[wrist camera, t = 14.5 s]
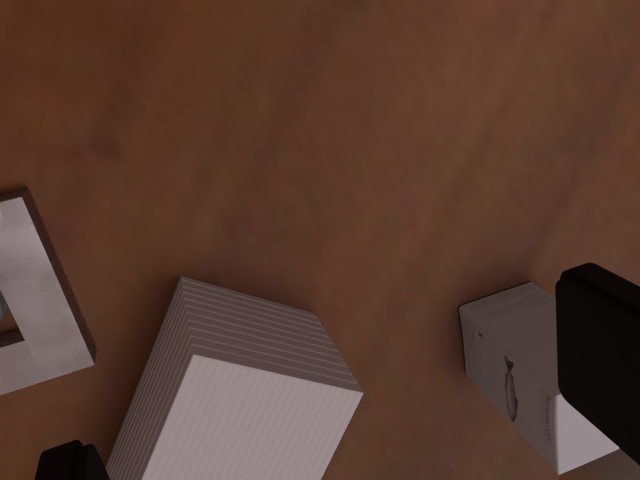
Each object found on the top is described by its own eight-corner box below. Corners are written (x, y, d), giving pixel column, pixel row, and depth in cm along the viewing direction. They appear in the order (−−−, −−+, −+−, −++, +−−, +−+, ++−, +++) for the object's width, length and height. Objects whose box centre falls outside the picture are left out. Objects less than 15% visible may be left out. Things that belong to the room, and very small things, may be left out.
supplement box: (455, 305, 47) (556, 393, 35) (532, 279, 48) (652, 356, 37) (462, 376, 49) (557, 478, 38) (534, 349, 51) (646, 441, 40)
